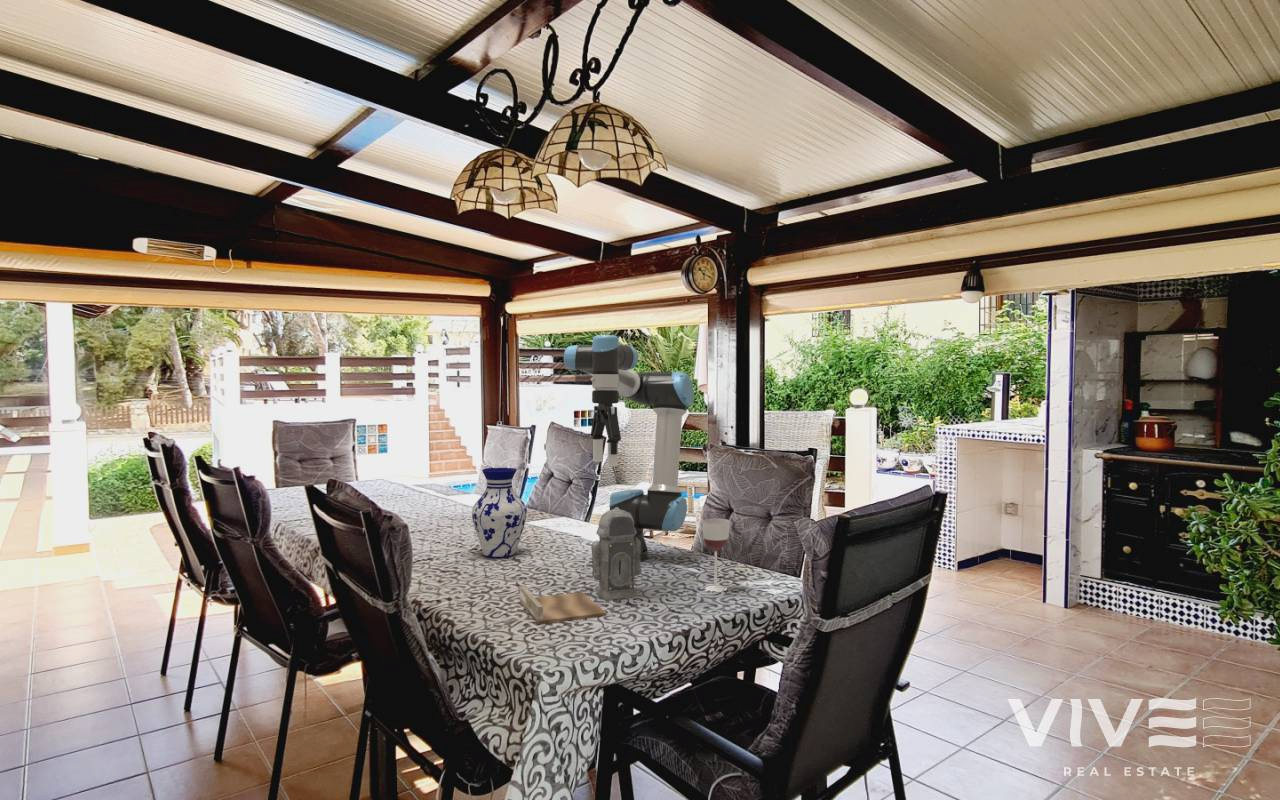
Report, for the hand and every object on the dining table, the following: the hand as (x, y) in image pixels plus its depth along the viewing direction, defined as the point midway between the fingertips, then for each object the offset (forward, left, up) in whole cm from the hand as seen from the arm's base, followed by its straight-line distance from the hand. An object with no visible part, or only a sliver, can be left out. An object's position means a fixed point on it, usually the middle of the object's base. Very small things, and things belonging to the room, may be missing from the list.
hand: (605, 464), depth 206 cm
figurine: (-3, +2, -37) cm, 37 cm away
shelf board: (+15, +9, -37) cm, 41 cm away
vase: (+18, -58, -37) cm, 71 cm away
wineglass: (-32, +8, -37) cm, 50 cm away
